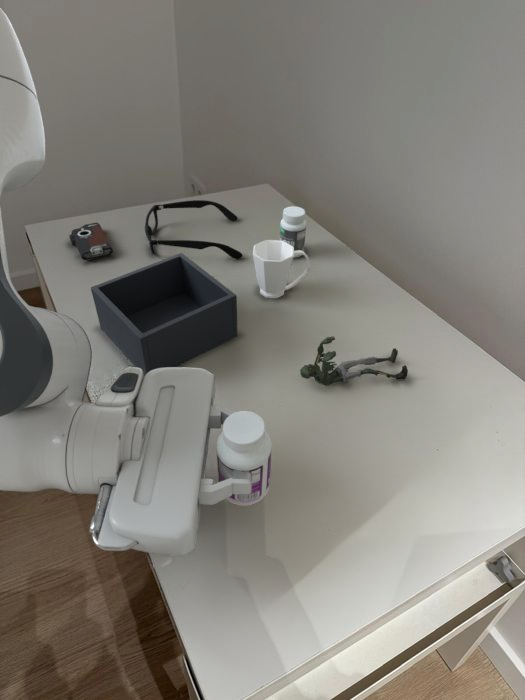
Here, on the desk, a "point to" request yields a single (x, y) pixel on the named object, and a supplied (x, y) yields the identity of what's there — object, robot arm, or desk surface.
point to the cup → (275, 267)
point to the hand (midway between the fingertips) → (253, 453)
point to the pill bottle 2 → (293, 228)
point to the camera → (91, 241)
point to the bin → (166, 313)
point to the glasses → (189, 243)
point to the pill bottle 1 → (245, 454)
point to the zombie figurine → (345, 367)
